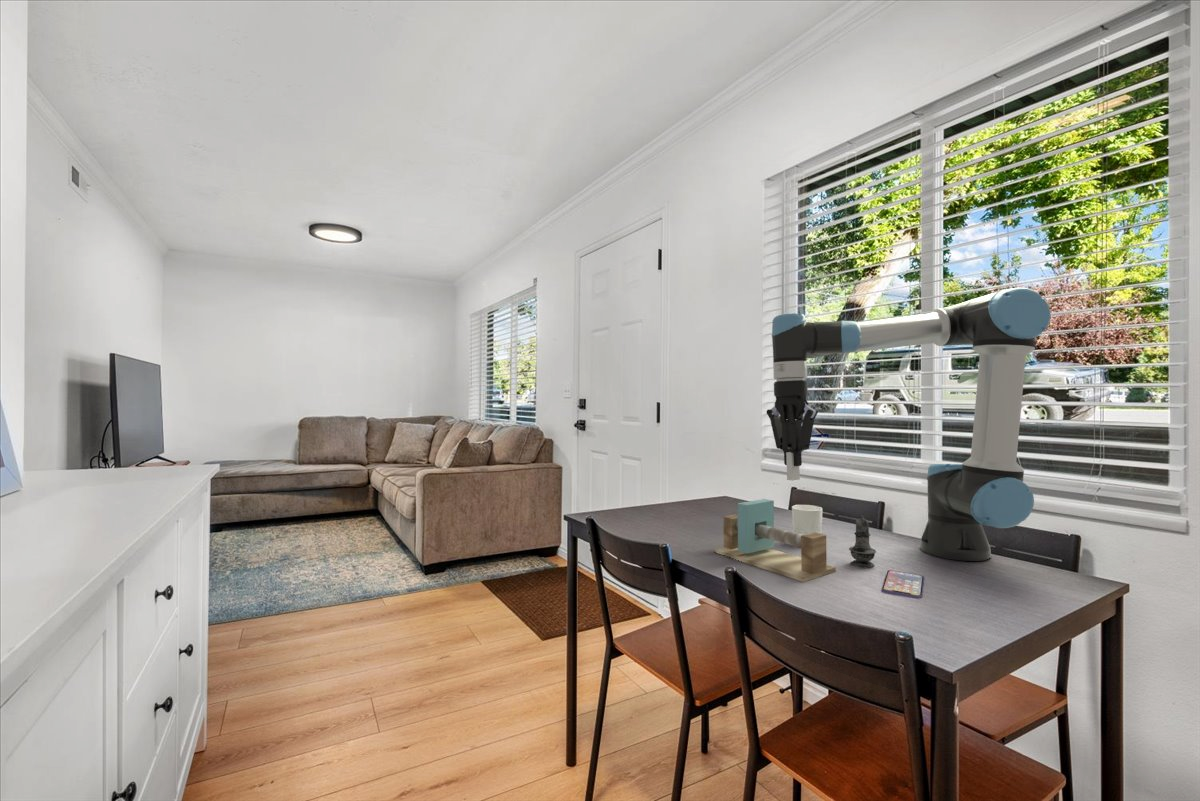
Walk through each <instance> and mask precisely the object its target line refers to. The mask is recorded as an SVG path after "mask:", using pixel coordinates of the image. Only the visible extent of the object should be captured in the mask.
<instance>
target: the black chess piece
mask: <svg viewBox="0 0 1200 801" xmlns="http://www.w3.org/2000/svg"><path fill="white" fill-rule="evenodd" d="M864 517H865V516H864V515H863V514H862V515H860V518H857V519H856V520H855V532H854V533H853V534H854V535H855V543H854V545H853V546H849V548H848V550H849V551H850V555H851V557H852V558H853V559H854V560H851V562H850V565H852V566H853V567H857V568H860V569H861V568H862V569H863V568H864V569H871V568H872V569H873V568H875V567H876V564H874V563H873V562H872V560H873V559H874V558H875V554H876V553H877V550H875V549H874V548H872V547H871V545H870V536H871V533H869V532H870V529H869V528H870V526H869V521H868V520H867V519H866V518H864Z"/></svg>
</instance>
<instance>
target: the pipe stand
mask: <svg viewBox="0 0 1200 801" xmlns="http://www.w3.org/2000/svg"><path fill="white" fill-rule="evenodd" d="M755 536H759V537H763V538H767V539H770V540H774V542H778V543H782V544H786V545H788V546H789V545H790V546H794V547H796V548H797V547H798V548H801V550H800V551H801V552H800V555H801V556H797V555H793V554H790V553H787V552H783V551H779V550H776V549H773V548H769V549H765V550H761V551H757V552H753V553H749V554H746V553H743V552H740V551H738V513H737V514H736V513H735V514H729V515H726V516H723V546H721V547H717V548H714V550H713V552H714V551H715V552H718V553H721V554H724V555H727V556H729V557H732V558H734V559H733V560H735V559H736V560H735V561H738V560H739V562H741V561H742V563H744V564H748V565H750V566H754V567H756V568H759V569H763V570H766V571H768V572H771V573H776V574H779V575H781V576H783V577H788V578H789V579H792V580H793V579H794V580H797V581H800V582H802V583H803V582H807V581H810V580H813V579H816V578H820V577H823V576H826V575H829V574H833V573H836V572H837V568H836V566H833V565H829V564H827V559H828V558H827V535H826V534H823V533H821V534H819V533H815V532H814V533H810V534H806V535H802V534H798V533H794V532H793V531H789V530H785V529H780V528H777V527H774V528H773V527H769V526H765V525H761V524H758V523H755ZM729 557H728V558H729ZM732 558H731V559H732Z"/></svg>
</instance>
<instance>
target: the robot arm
mask: <svg viewBox="0 0 1200 801" xmlns="http://www.w3.org/2000/svg"><path fill="white" fill-rule="evenodd" d="M1051 316H1052V314H1051V308H1050V306H1049V304H1048V301H1047V300H1046V299H1045V298H1044V297H1042V295H1041V294H1040V293H1039V292H1037V291H1035V290H1033V289H1032V288H1031V289H1030V288H1028V287H1027V288H1026V287H1014V288H1013V287H1012V288H1004V289H1000V290H998V291H996V292H994V293H989V294H986V295H982V296H979V297H975V298H972V299H970V300H967V301H963V302H961V303H957V304H954V305H950V306H946V307H945V306H944V307H937V308H934V309H933V310H932V311H931V312H930V313H925V314H924V313H923V314H915V315H908V316H900V317H892V318H884V319H876V320H868V321H861V322H860V321H859V322H856V321H854V320H843V319H841V320H837V321H836V320H835V321H818V322H817V321H816V322H813V321H812V322H811V321H807V320H806V316H805V314H804V313H794V312H793V313H784V314H783V313H782V314H779V315H776V316H775V317H774V318H773V319H772V324H771V325H772V327H771V331H772V332H771V339H772V341H771V342H772V355H773V356H772V357H773V359H772V360H773V361H772V362H773V366H772V367H773V379H774V380H776V381H774V383H773V396H774V397H775V402H774V405H773V407H772V408H770V409H767V410H766V414H767V416H768V418H769V420H770V424H771V429H772V434H773V438H774V442H775V447H776V449H778V450H781V451H782V452H783V462H784V466H786V481H791V482H792V481H799V480H800V479H801V478H800V477H801V476H800V467H801V466H802V452H803V451H807V450H809V449H810V444H811V440H812V433H813V428H814V423H815V419H816V416H817V415H818V413H819V410H818V409H816V408H812V407H811V406H809V402H808V399H807V396H808V394H809V392H808V381H807V380H805V379H806V378H808V365H807V364H808V363H807V361H808V359H817V358H819V357H828V356H829V357H830V356H836V355H841V354H842V355H843V354H851V353H858V352H866V351H868V352H869V351H876V350H886V349H893V348H901V347H909V346H919V345H925V344H926V345H927V344H934V345H936V346H938V347H943V346H952V345H954V346H955V345H956V346H957V345H971V346H972V350H974V352H975V353H976V354H977V355H978V357H979V359H978V360H979V361H978V371H977V373H978V374H977V381H976V382H977V383H976V394H975V405H974V415H973V416H974V418H973V429H972V438H971V439H972V440H971V452H970V456H969V458H968V459H966V460H965V461H962V463H932V464H930V465H929V466H928V467H927V476H926V480H927V522H926V525H925V528H924V531H923V533H922V535H921V538H920V542H919V543H920V544H919V545H920V547H919V548H920V550H921V551H922V552H923V553H926V554H928V555H932V556H935V557H938V558H943V559H947V560H954V561H965V562H966V561H967V562H979V561H980V562H982V561H987V559H988V560H990V559H991V558H992V555H991V554H992V552H991V551H992V549H991V546H990V543H989V540H988V538H987V535H986V532H985V530H984V527H983V526H987V527H993V528H996V529H997V528H998V529H1010V528H1014V527H1016V526H1019V525H1020V524H1021V523H1022V522H1025V521H1026V520H1027V518H1029V516H1031V513H1032V512H1033V508H1034V504H1035V497H1034V493H1033V492H1032V490H1031V489H1030V488H1029V486H1028V484H1026V483H1025V482H1024V475H1025V469H1024V468H1023V467H1021V465H1020V464H1018V462H1017V458H1018V457H1017V456H1018V447H1019V446H1018V445H1019V436H1020V435H1019V434H1020V425H1021V424H1020V422H1021V413H1022V405H1023V404H1022V402H1023V392H1024V380H1025V379H1024V378H1025V371H1026V370H1025V368H1026V359H1027V356H1028V355H1029V354H1031V353H1032V352H1034V351H1035V350H1036V342H1037V341H1036V340H1037V337H1038V336H1040V335H1041V334H1043V332H1044V331H1046V330H1047V328H1048V327H1049V325H1050V321H1051ZM990 557H991V558H990ZM989 558H990V559H989Z"/></svg>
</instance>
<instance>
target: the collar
mask: <svg viewBox="0 0 1200 801" xmlns="http://www.w3.org/2000/svg"><path fill="white" fill-rule="evenodd" d="M774 502H775V501H774V500H772V499H766V498H762V499H755V500H750V501H744V502H739V503H737V514H738V551H740V552H743V553H746V554H749V553H753V552H757V551H761V550H765V549H769V548H771V549H773V548H775V541H774V540H770V539H767V538H763V537H759V536H755V523H758V524H761V525H765V526H769V527H773V528H775V505H774V504H775V503H774Z"/></svg>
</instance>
